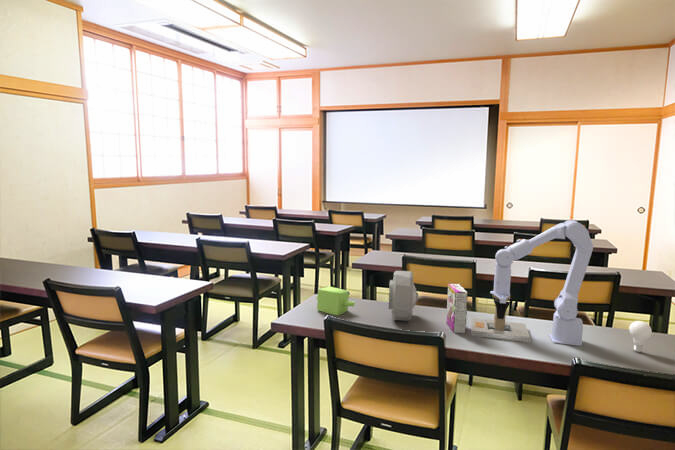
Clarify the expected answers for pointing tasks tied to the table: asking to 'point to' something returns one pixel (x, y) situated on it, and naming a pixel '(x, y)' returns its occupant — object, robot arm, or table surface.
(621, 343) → the table surface
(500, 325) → the handle
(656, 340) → the table surface
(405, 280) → the dial
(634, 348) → the lightbulb
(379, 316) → the table surface
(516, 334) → the rack plate
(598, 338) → the table surface
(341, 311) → the gearbox
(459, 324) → the candy bar box
